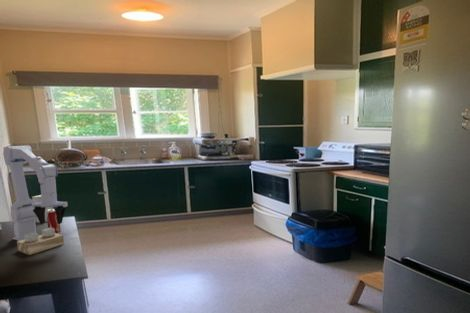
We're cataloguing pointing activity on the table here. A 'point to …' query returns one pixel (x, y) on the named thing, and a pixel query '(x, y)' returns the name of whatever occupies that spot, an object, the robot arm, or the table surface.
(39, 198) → the skincare box
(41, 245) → the peg board
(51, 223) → the soda can
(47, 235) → the peg
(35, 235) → the peg
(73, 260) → the table surface
